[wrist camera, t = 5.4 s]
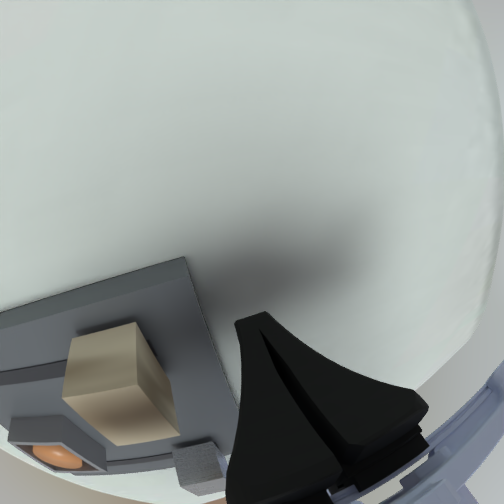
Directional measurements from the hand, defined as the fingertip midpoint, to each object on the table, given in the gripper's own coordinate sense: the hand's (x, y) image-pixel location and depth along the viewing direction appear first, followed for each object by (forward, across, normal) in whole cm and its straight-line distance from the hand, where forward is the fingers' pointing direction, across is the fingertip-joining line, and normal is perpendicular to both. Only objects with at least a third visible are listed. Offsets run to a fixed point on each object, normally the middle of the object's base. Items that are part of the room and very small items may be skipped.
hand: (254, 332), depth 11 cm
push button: (0, +15, +6) cm, 16 cm away
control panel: (+2, +11, +6) cm, 13 cm away
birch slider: (0, +6, 0) cm, 6 cm away
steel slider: (0, +6, +12) cm, 13 cm away
